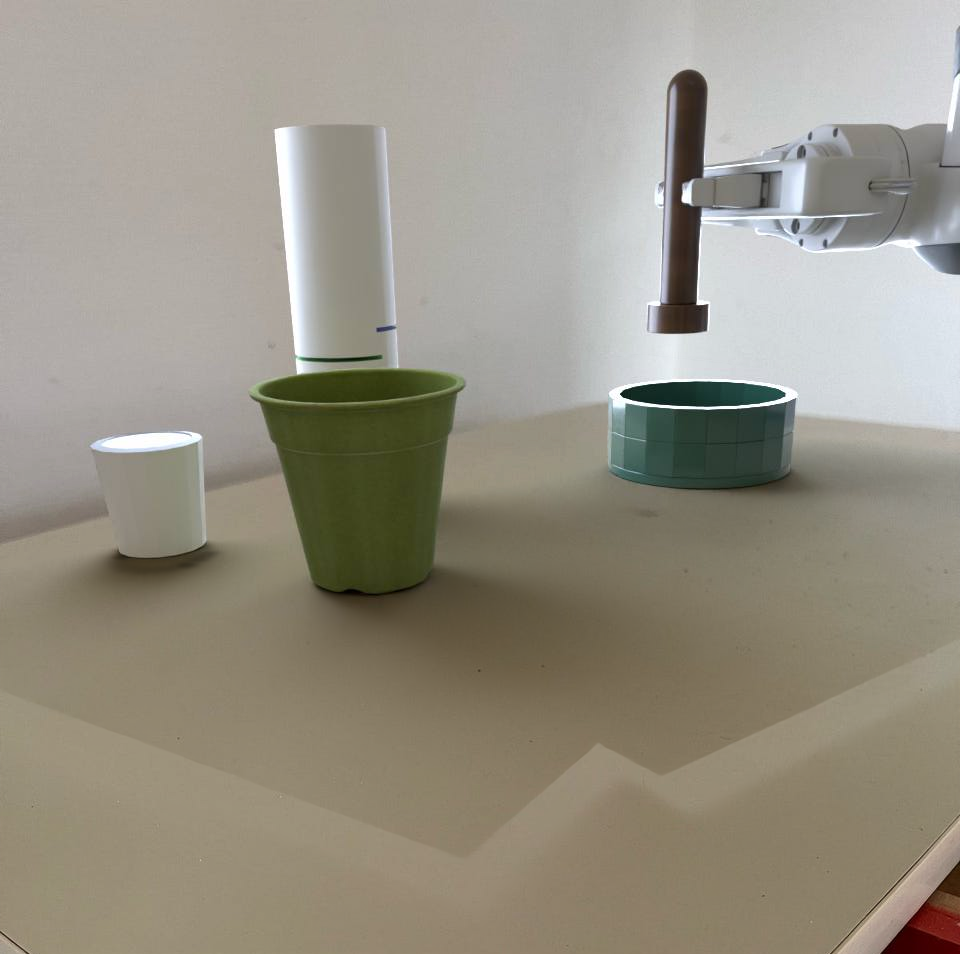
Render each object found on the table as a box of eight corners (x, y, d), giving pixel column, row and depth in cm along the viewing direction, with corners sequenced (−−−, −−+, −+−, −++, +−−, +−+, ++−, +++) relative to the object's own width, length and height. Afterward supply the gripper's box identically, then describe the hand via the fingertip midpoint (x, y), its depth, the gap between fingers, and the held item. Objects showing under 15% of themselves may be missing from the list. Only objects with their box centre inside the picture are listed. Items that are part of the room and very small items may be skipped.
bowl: (690, 441, 94) (694, 374, 92) (827, 467, 83) (835, 392, 81) (571, 466, 86) (572, 393, 84) (705, 499, 75) (710, 416, 73)
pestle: (675, 326, 81) (686, 75, 74) (721, 329, 77) (736, 67, 71) (633, 331, 78) (640, 71, 71) (678, 335, 75) (690, 63, 68)
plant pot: (227, 590, 59) (201, 391, 55) (359, 537, 68) (346, 363, 64) (388, 627, 53) (374, 407, 49) (510, 564, 62) (507, 373, 58)
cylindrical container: (425, 499, 77) (407, 128, 68) (366, 522, 72) (337, 122, 62) (350, 488, 81) (324, 135, 71) (289, 510, 75) (251, 130, 66)
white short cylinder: (158, 566, 64) (140, 454, 61) (85, 551, 67) (66, 444, 64) (237, 538, 69) (224, 433, 66) (166, 525, 72) (151, 425, 70)
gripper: (926, 234, 70) (746, 242, 66) (760, 233, 88) (612, 239, 84) (939, 131, 67) (753, 133, 63) (766, 151, 85) (613, 154, 81)
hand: (672, 193), depth 74 cm, fingers closed on pestle, 3 cm apart
